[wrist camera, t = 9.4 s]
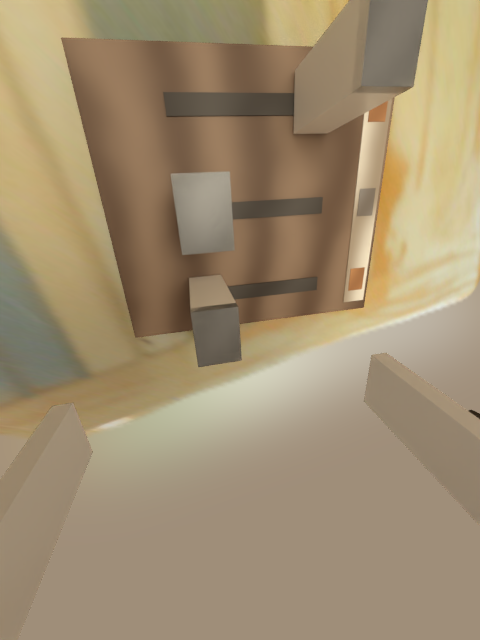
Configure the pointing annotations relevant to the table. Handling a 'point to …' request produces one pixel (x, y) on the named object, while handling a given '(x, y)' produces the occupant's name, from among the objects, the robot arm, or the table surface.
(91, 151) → the switch panel
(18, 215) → the table surface
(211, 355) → the tab
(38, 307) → the table surface
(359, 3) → the tab
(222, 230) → the tab
